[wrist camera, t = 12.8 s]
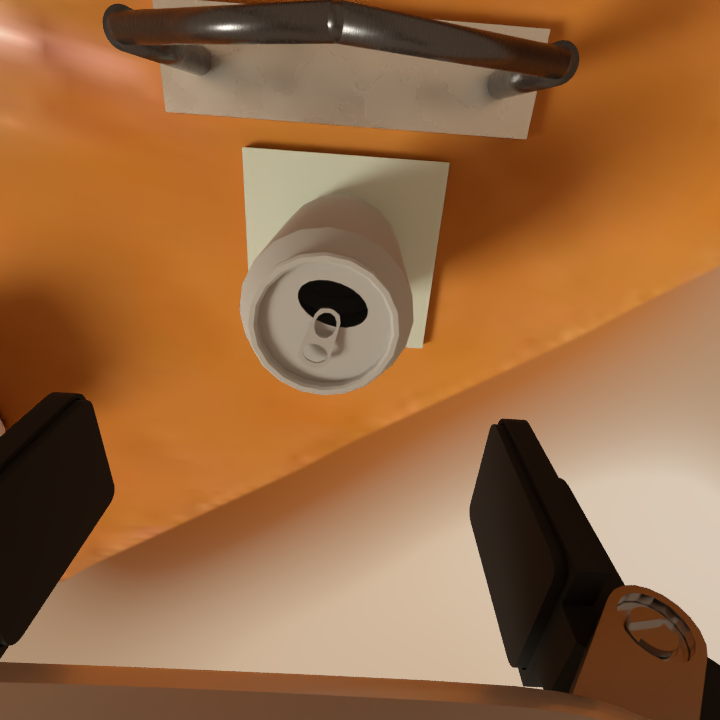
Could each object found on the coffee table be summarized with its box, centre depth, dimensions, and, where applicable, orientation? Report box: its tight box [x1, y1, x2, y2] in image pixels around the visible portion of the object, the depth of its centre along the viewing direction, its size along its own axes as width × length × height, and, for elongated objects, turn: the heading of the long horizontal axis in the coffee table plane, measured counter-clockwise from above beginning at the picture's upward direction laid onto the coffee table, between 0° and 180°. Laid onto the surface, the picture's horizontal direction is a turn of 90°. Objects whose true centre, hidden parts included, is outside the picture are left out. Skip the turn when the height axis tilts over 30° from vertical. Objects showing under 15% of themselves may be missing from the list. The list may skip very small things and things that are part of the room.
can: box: [240, 194, 414, 395], centre depth 23 cm, size 8×8×12 cm
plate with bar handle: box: [103, 0, 579, 139], centre depth 18 cm, size 5×20×14 cm, turn 86°
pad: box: [242, 147, 450, 348], centre depth 28 cm, size 12×12×1 cm
